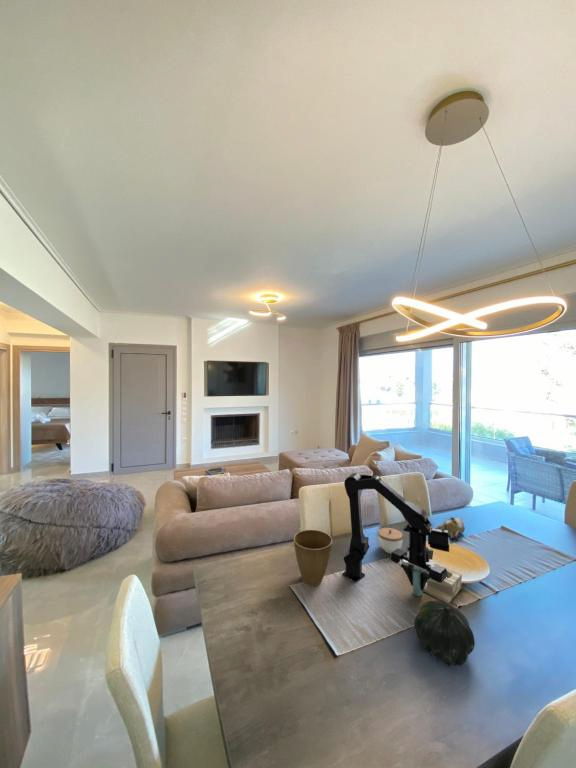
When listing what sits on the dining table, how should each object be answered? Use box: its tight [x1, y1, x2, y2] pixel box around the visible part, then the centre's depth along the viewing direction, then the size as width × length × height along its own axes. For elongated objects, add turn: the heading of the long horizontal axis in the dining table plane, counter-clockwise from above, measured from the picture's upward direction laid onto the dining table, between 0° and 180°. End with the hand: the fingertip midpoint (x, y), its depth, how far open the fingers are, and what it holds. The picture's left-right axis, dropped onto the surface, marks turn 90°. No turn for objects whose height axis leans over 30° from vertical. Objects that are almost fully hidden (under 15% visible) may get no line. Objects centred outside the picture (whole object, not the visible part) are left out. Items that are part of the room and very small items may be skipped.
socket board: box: [422, 563, 463, 604], centre depth 115 cm, size 12×11×5 cm
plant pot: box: [293, 529, 333, 586], centre depth 120 cm, size 15×15×16 cm
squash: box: [413, 600, 476, 667], centre depth 88 cm, size 14×15×15 cm
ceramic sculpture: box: [435, 516, 466, 539], centre depth 157 cm, size 11×9×15 cm
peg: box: [412, 568, 423, 597], centre depth 112 cm, size 3×3×8 cm
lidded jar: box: [377, 527, 404, 554], centre depth 142 cm, size 11×11×9 cm
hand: (417, 587), depth 112 cm, fingers closed on peg, 3 cm apart
